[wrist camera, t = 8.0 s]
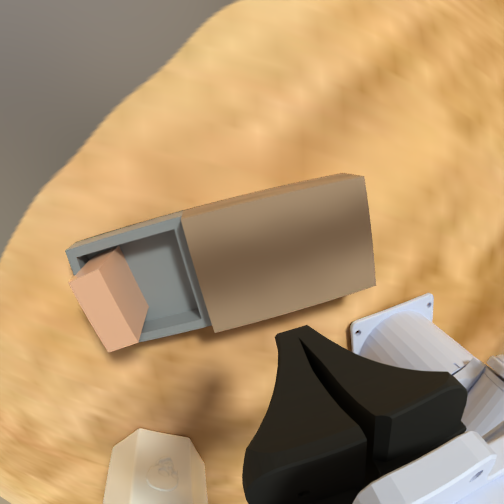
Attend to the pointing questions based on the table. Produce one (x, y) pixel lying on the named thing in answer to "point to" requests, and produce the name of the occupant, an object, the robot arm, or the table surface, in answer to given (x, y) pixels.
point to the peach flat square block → (111, 299)
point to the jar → (155, 471)
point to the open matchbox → (281, 249)
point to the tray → (154, 272)
